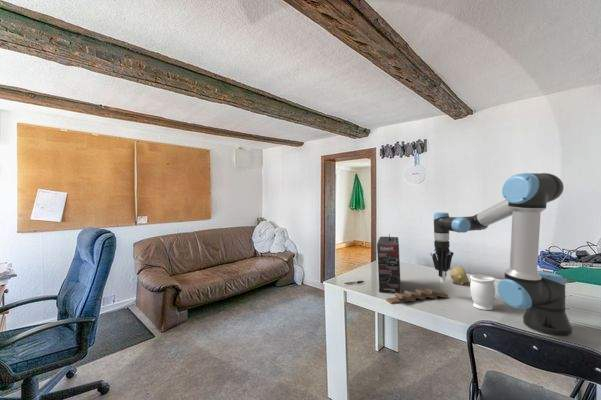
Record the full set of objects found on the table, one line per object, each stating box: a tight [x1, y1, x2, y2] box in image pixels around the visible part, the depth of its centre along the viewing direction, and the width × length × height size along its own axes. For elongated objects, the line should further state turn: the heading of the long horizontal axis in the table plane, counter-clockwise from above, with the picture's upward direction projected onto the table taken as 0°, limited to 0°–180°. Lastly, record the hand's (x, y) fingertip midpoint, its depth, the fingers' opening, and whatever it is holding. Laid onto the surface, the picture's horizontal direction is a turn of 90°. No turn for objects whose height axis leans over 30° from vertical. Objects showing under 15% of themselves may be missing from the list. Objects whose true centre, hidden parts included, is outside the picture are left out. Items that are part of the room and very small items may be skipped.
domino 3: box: [403, 290, 427, 301], centre depth 147 cm, size 2×5×10 cm
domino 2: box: [394, 292, 417, 302], centre depth 145 cm, size 2×5×10 cm
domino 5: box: [425, 287, 449, 299], centre depth 149 cm, size 2×5×10 cm
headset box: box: [376, 233, 401, 294], centre depth 168 cm, size 24×13×33 cm, turn 160°
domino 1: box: [385, 296, 409, 305], centre depth 145 cm, size 2×5×10 cm
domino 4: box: [414, 288, 438, 300], centre depth 149 cm, size 2×5×10 cm
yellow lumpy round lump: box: [449, 266, 470, 286], centre depth 171 cm, size 10×12×11 cm
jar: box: [469, 274, 496, 311], centre depth 135 cm, size 11×10×15 cm
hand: (442, 282), depth 150 cm, fingers closed
